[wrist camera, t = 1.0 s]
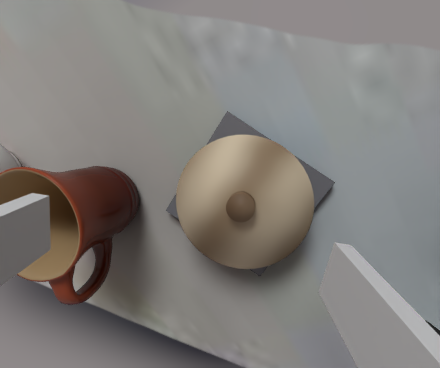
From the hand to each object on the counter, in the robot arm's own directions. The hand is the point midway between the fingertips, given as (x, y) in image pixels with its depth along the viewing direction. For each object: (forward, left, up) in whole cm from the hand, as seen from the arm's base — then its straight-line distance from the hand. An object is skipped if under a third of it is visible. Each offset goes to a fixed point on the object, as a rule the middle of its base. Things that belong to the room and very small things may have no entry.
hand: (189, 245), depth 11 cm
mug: (+9, +10, -14) cm, 20 cm away
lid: (-2, 0, -13) cm, 13 cm away
